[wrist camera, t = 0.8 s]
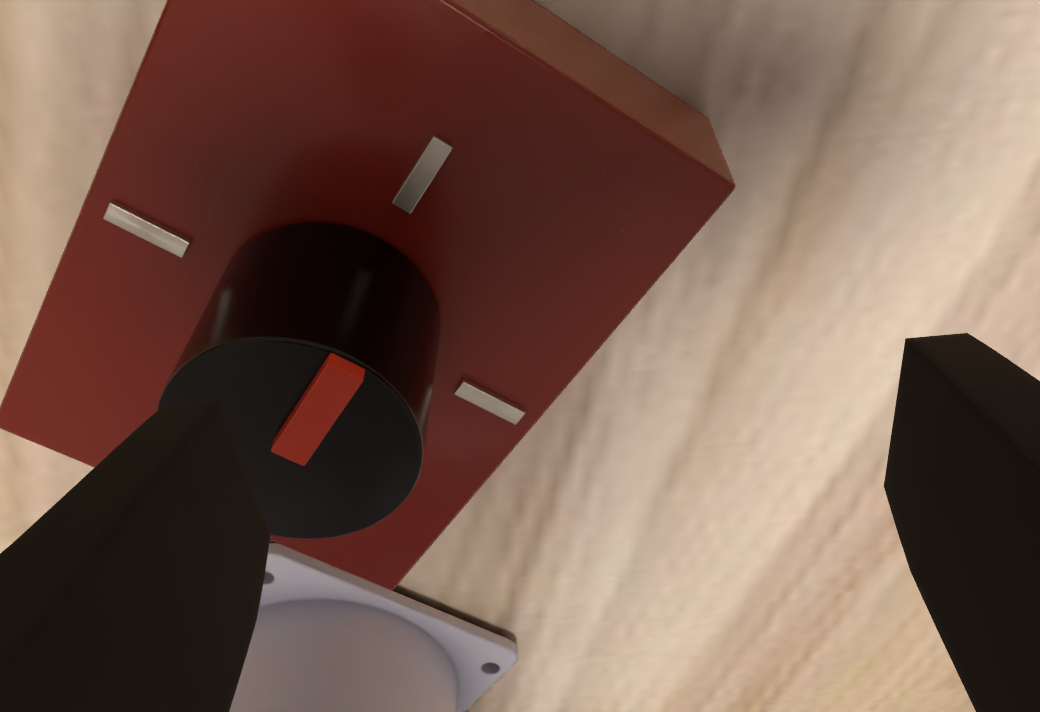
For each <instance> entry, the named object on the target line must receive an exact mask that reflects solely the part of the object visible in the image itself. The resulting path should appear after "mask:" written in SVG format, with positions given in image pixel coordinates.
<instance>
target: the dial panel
mask: <svg viewBox="0 0 1040 712" xmlns="http://www.w3.org/2000/svg"><path fill="white" fill-rule="evenodd" d="M735 186H736V185H735V183H734V180H733V178H732V175H731V173H730V170H729V168H728V166H727V163H726V161H725V158H724V156H723V153H722V151H721V148H720V146H719V143H718V141H717V139H716V136H715V134H714V131H713V129H712V126H711V124H710V121H709V119H708V118H707V117H706V116H704V115H703V114H701V113H700V112H698V111H697V110H695V109H694V108H692V107H691V106H689V105H688V104H686V103H685V102H683V101H682V100H680V99H679V98H677V97H676V96H674V95H673V94H671V93H670V92H668V91H667V90H665V89H664V88H663V87H661V86H660V85H658V84H657V83H655V82H654V81H652V80H651V79H649V78H648V77H646V76H645V75H643V74H642V73H640V72H639V71H637V70H636V69H634V68H633V67H631V66H630V65H628V64H627V63H625V62H624V61H622V60H621V59H619V58H618V57H616V56H615V55H613V54H612V53H610V52H609V51H607V50H606V49H604V48H603V47H601V46H600V45H598V44H597V43H595V42H594V41H592V40H591V39H589V38H588V37H586V36H585V35H583V34H582V33H580V32H579V31H577V30H576V29H575V28H573V27H572V26H570V25H569V24H567V23H566V22H564V21H563V20H561V19H560V18H558V17H557V16H555V15H554V14H552V13H551V12H549V11H548V10H546V9H545V8H543V7H542V6H540V5H539V4H537V3H536V2H534V1H533V0H167V1H166V4H165V6H164V9H163V11H162V13H161V16H160V18H159V21H158V23H157V26H156V28H155V30H154V33H153V35H152V38H151V40H150V43H149V45H148V48H147V50H146V52H145V55H144V57H143V60H142V62H141V65H140V67H139V69H138V72H137V74H136V77H135V79H134V82H133V84H132V87H131V89H130V91H129V94H128V96H127V99H126V101H125V104H124V106H123V108H122V111H121V113H120V116H119V118H118V121H117V123H116V125H115V128H114V130H113V133H112V135H111V138H110V140H109V143H108V145H107V147H106V150H105V152H104V155H103V157H102V160H101V162H100V164H99V167H98V169H97V172H96V174H95V177H94V179H93V181H92V184H91V186H90V189H89V191H88V194H87V196H86V199H85V201H84V203H83V206H82V208H81V211H80V213H79V216H78V218H77V220H76V223H75V225H74V228H73V230H72V233H71V235H70V238H69V240H68V242H67V245H66V247H65V250H64V252H63V255H62V257H61V259H60V262H59V264H58V267H57V269H56V272H55V274H54V276H53V279H52V281H51V284H50V286H49V289H48V291H47V294H46V296H45V298H44V301H43V303H42V306H41V308H40V311H39V313H38V315H37V318H36V320H35V323H34V325H33V328H32V330H31V332H30V335H29V337H28V340H27V342H26V345H25V347H24V350H23V352H22V354H21V357H20V359H19V362H18V364H17V367H16V369H15V371H14V374H13V376H12V379H11V381H10V384H9V386H8V388H7V391H6V393H5V396H4V398H3V401H2V403H1V406H0V428H1V429H3V430H6V431H8V432H10V433H13V434H15V435H18V436H20V437H23V438H25V439H27V440H30V441H32V442H35V443H37V444H39V445H42V446H44V447H47V448H49V449H51V450H54V451H56V452H59V453H61V454H64V455H66V456H68V457H71V458H73V459H76V460H78V461H80V462H83V463H85V464H88V465H90V466H92V467H96V466H97V465H98V464H99V463H100V462H101V461H102V460H103V459H104V458H106V457H107V456H108V455H109V454H110V453H111V452H112V451H113V450H114V449H115V448H116V447H117V446H118V445H120V444H121V443H122V442H123V441H124V440H125V439H126V438H127V437H128V436H129V435H130V434H132V433H133V432H134V431H135V430H136V429H137V428H138V427H139V426H140V425H142V424H143V423H144V422H145V421H146V420H147V419H148V418H150V417H151V416H152V415H153V414H155V413H156V411H157V406H158V402H159V399H160V396H161V394H162V392H163V389H164V387H165V385H166V383H167V381H168V379H169V377H170V375H171V373H172V372H173V370H174V368H175V366H176V364H177V362H178V360H179V358H180V356H181V354H182V352H183V350H184V348H185V346H186V344H187V342H188V340H189V339H190V337H191V335H192V333H193V331H194V329H195V327H196V325H197V323H198V321H199V319H200V317H201V315H202V313H203V311H204V309H205V307H206V306H207V304H208V302H209V300H210V298H211V296H212V294H213V292H214V290H215V288H216V286H217V284H218V282H219V280H220V278H221V276H222V274H223V273H224V271H225V269H226V267H227V266H228V264H229V263H230V261H231V259H232V258H233V257H234V256H235V255H236V254H237V253H238V251H239V250H240V249H241V248H243V247H244V246H245V245H246V244H248V243H249V242H250V241H251V240H253V239H255V238H257V237H258V236H260V235H262V234H264V233H266V232H269V231H271V230H273V229H276V228H279V227H283V226H287V225H291V224H297V223H305V222H325V223H334V224H340V225H345V226H349V227H353V228H356V229H359V230H362V231H365V232H368V233H370V234H372V235H374V236H376V237H378V238H381V239H382V240H384V241H386V242H387V243H389V244H390V245H392V246H394V247H395V248H396V249H397V250H399V251H400V252H401V253H403V254H404V255H405V256H406V257H407V258H408V259H409V260H410V261H411V262H412V263H413V264H414V265H415V266H416V267H417V268H418V270H419V271H420V272H421V274H422V275H423V276H424V278H425V279H426V281H427V283H428V284H429V286H430V288H431V290H432V292H433V294H434V297H435V299H436V302H437V306H438V310H439V314H440V326H441V327H440V339H439V347H438V354H437V361H436V369H435V376H434V383H433V391H432V398H431V405H430V413H429V420H428V427H427V435H426V442H425V449H424V457H423V464H422V468H421V472H420V476H419V478H418V480H417V482H416V485H415V487H414V488H413V490H412V491H411V493H410V494H409V496H408V497H407V499H406V500H405V501H404V502H403V503H402V504H401V505H400V506H399V507H398V508H397V509H396V510H395V511H394V512H392V513H391V514H390V515H389V516H387V517H386V518H384V519H383V520H381V521H379V522H378V523H376V524H374V525H372V526H370V527H367V528H365V529H363V530H360V531H357V532H354V533H350V534H347V535H342V536H337V537H331V538H321V539H297V538H285V537H280V536H274V535H271V536H270V540H271V541H273V542H276V543H278V544H281V545H283V546H285V547H288V548H290V549H293V550H295V551H297V552H300V553H302V554H305V555H307V556H310V557H312V558H314V559H317V560H319V561H322V562H324V563H326V564H329V565H331V566H334V567H336V568H339V569H341V570H343V571H346V572H348V573H351V574H353V575H355V576H358V577H360V578H363V579H365V580H367V581H370V582H372V583H375V584H377V585H380V586H382V587H384V588H387V589H389V590H393V589H394V588H395V587H396V586H397V585H398V584H399V582H400V581H401V580H402V579H403V578H404V576H405V575H406V574H407V573H408V572H409V571H410V569H411V568H412V567H413V566H414V565H415V564H416V562H417V561H418V560H419V559H420V558H421V557H422V555H423V554H424V553H425V552H426V551H427V549H428V548H429V547H430V546H431V545H432V544H433V542H434V541H435V540H436V539H437V538H438V537H439V535H440V534H441V533H442V532H443V531H444V530H445V528H446V527H447V526H448V525H449V524H450V523H451V521H452V520H453V519H454V518H455V517H456V515H457V514H458V513H459V512H460V511H461V510H462V508H463V507H464V506H465V505H466V504H467V503H468V501H469V500H470V499H471V498H472V497H473V496H474V494H475V493H476V492H477V491H478V490H479V488H480V487H481V486H482V485H483V484H484V483H485V481H486V480H487V479H488V478H489V477H490V476H491V474H492V473H493V472H494V471H495V470H496V469H497V467H498V466H499V465H500V464H501V463H502V462H503V460H504V459H505V458H506V457H507V456H508V454H509V453H510V452H511V451H512V450H513V449H514V447H515V446H516V445H517V444H518V443H519V442H520V440H521V439H522V438H523V437H524V436H525V435H526V433H527V432H528V431H529V430H530V429H531V427H532V426H533V425H534V424H535V423H536V422H537V420H538V419H539V418H540V417H541V416H542V415H543V413H544V412H545V411H546V410H547V409H548V408H549V406H550V405H551V404H552V403H553V402H554V400H555V399H556V398H557V397H558V396H559V395H560V393H561V392H562V391H563V390H564V389H565V388H566V386H567V385H568V384H569V383H570V382H571V381H572V379H573V378H574V377H575V376H576V375H577V374H578V372H579V371H580V370H581V369H582V368H583V366H584V365H585V364H586V363H587V362H588V361H589V359H590V358H591V357H592V356H593V355H594V354H595V352H596V351H597V350H598V349H599V348H600V347H601V345H602V344H603V343H604V342H605V341H606V339H607V338H608V337H609V336H610V335H611V334H612V332H613V331H614V330H615V329H616V328H617V327H618V325H619V324H620V323H621V322H622V321H623V320H624V318H625V317H626V316H627V315H628V314H629V313H630V311H631V310H632V309H633V308H634V307H635V305H636V304H637V303H638V302H639V301H640V300H641V298H642V297H643V296H644V295H645V294H646V293H647V291H648V290H649V289H650V288H651V287H652V286H653V284H654V283H655V282H656V281H657V280H658V278H659V277H660V276H661V275H662V274H663V273H664V271H665V270H666V269H667V268H668V267H669V266H670V264H671V263H672V262H673V261H674V260H675V259H676V257H677V256H678V255H679V254H680V253H681V251H682V250H683V249H684V248H685V247H686V246H687V244H688V243H689V242H690V241H691V240H692V239H693V237H694V236H695V235H696V234H697V233H698V232H699V230H700V229H701V228H702V227H703V226H704V225H705V223H706V222H707V221H708V220H709V219H710V217H711V216H712V215H713V214H714V213H715V212H716V210H717V209H718V208H719V207H720V206H721V205H722V203H723V202H724V201H725V200H726V199H727V198H728V196H729V195H730V194H731V193H732V192H733V190H734V189H735Z"/></svg>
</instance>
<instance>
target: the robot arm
mask: <svg viewBox="0 0 1040 712" xmlns="http://www.w3.org/2000/svg"><path fill="white" fill-rule="evenodd" d="M884 488H885V491H886V495H887V498H888V501H889V505H890V508H891V511H892V515H893V518H894V521H895V525H896V528H897V531H898V534H899V537H900V540H901V543H902V547H903V550H904V553H905V556H906V559H907V562H908V565H909V568H910V571H911V573H912V575H913V578H914V580H915V582H916V584H917V587H918V589H919V591H920V593H921V595H922V598H923V600H924V602H925V604H926V606H927V608H928V610H929V613H930V615H931V617H932V619H933V621H934V623H935V626H936V628H937V630H938V632H939V634H940V636H941V639H942V641H943V643H944V645H945V647H946V649H947V651H948V653H949V655H950V658H951V660H952V662H953V664H954V666H955V668H956V670H957V672H958V674H959V677H960V679H961V681H962V683H963V685H964V687H965V689H966V691H967V694H968V696H969V698H970V700H971V702H972V704H973V706H974V708H975V710H976V712H1040V381H1039V380H1037V379H1036V378H1034V377H1033V376H1031V375H1030V374H1028V373H1027V372H1026V371H1024V370H1023V369H1021V368H1020V367H1018V366H1017V365H1015V364H1014V363H1012V362H1011V361H1010V360H1008V359H1007V358H1005V357H1004V356H1002V355H1001V354H999V353H998V352H996V351H995V350H993V349H992V348H990V347H989V346H987V345H986V344H984V343H982V342H981V341H979V340H978V339H976V338H974V337H973V336H971V335H970V334H968V333H963V334H952V335H940V336H929V337H918V338H907V339H905V346H904V353H903V360H902V366H901V373H900V380H899V387H898V394H897V400H896V407H895V414H894V421H893V428H892V435H891V441H890V448H889V455H888V462H887V469H886V475H885V482H884ZM270 536H271V534H270V531H269V529H268V526H267V524H266V521H265V518H264V516H263V513H262V510H261V508H260V505H259V503H258V500H257V497H256V495H255V492H254V489H253V487H252V484H251V482H250V479H249V476H248V474H247V471H246V469H245V466H244V463H243V461H242V458H241V455H240V453H239V450H238V448H237V445H236V442H235V440H234V437H233V434H232V432H231V429H230V427H229V424H228V421H227V419H226V416H225V413H224V411H223V408H222V406H221V403H220V400H215V401H204V402H193V403H182V404H171V405H164V406H163V407H162V408H161V409H159V410H158V411H157V412H156V413H155V414H153V415H152V416H151V417H150V418H148V419H147V420H146V421H145V422H144V423H143V424H142V425H140V426H139V427H138V428H137V429H136V430H135V431H134V432H133V433H132V434H130V435H129V436H128V437H127V438H126V439H125V440H124V441H123V442H122V443H121V444H120V445H118V446H117V447H116V448H115V449H114V450H113V451H112V452H111V453H110V454H109V455H108V456H107V457H106V458H104V459H103V460H102V461H101V462H100V463H99V464H98V465H97V466H96V467H95V468H94V469H93V470H92V471H91V472H89V473H88V474H87V475H86V476H85V477H84V478H83V479H82V480H81V481H80V482H79V483H78V484H77V485H76V486H74V487H73V488H72V489H71V490H70V491H69V492H68V493H67V494H66V495H65V496H64V497H63V498H61V499H60V500H59V501H58V502H57V503H56V504H55V505H54V506H53V507H52V508H51V509H49V510H48V511H47V512H46V513H45V514H44V515H43V516H42V517H41V518H40V519H39V520H38V521H36V522H35V523H34V524H33V525H32V526H31V527H30V528H29V529H28V530H27V531H26V532H24V533H23V534H22V535H21V536H20V537H19V538H18V539H17V540H16V541H15V542H13V543H12V544H11V545H10V546H9V547H8V548H6V549H5V550H4V551H3V552H2V553H1V554H0V712H465V711H466V710H467V709H468V708H469V707H470V706H471V705H473V704H474V703H475V702H476V701H477V700H478V699H479V698H480V697H481V696H482V695H483V694H484V693H485V692H486V691H487V690H488V689H489V688H490V687H491V686H492V685H493V684H494V683H495V682H496V681H497V680H499V679H500V678H501V677H502V676H503V675H504V674H505V673H506V672H507V671H508V670H509V669H510V668H511V667H512V666H513V665H514V664H515V663H516V661H517V646H516V644H515V643H514V642H513V641H511V640H509V639H507V638H505V637H502V636H500V635H498V634H495V633H493V632H490V631H488V630H485V629H483V628H481V627H478V626H476V625H473V624H471V623H469V622H466V621H464V620H461V619H459V618H457V617H454V616H452V615H449V614H447V613H444V612H442V611H440V610H437V609H435V608H432V607H430V606H428V605H425V604H423V603H420V602H418V601H416V600H413V599H411V598H408V597H406V596H403V595H401V594H399V593H396V592H394V591H391V590H389V589H387V588H384V587H382V586H379V585H377V584H375V583H372V582H370V581H367V580H365V579H362V578H360V577H358V576H355V575H353V574H350V573H348V572H346V571H343V570H341V569H338V568H336V567H333V566H331V565H329V564H326V563H324V562H321V561H319V560H317V559H314V558H312V557H309V556H307V555H305V554H302V553H300V552H297V551H295V550H292V549H290V548H288V547H285V546H283V545H279V544H276V543H273V544H269V542H270ZM265 571H267V572H269V573H267V572H265Z"/></svg>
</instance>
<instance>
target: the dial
mask: <svg viewBox="0 0 1040 712" xmlns="http://www.w3.org/2000/svg"><path fill="white" fill-rule="evenodd" d="M440 327H441V326H440V314H439V310H438V306H437V302H436V299H435V297H434V294H433V292H432V290H431V288H430V286H429V284H428V283H427V281H426V279H425V278H424V276H423V275H422V274H421V272H420V271H419V270H418V268H417V267H416V266H415V265H414V264H413V263H412V262H411V261H410V260H409V259H408V258H407V257H406V256H405V255H404V254H403V253H401V252H400V251H399V250H397V249H396V248H395V247H394V246H392V245H390V244H389V243H387V242H386V241H384V240H382V239H381V238H378V237H376V236H374V235H372V234H370V233H368V232H365V231H362V230H359V229H356V228H353V227H349V226H345V225H340V224H334V223H325V222H305V223H297V224H291V225H287V226H283V227H279V228H276V229H273V230H271V231H269V232H266V233H264V234H262V235H260V236H258V237H257V238H255V239H253V240H251V241H250V242H249V243H248V244H246V245H245V246H244V247H243V248H241V249H240V250H239V251H238V253H237V254H236V255H235V256H234V257H233V258H232V259H231V261H230V263H229V264H228V266H227V267H226V269H225V271H224V273H223V274H222V276H221V278H220V280H219V282H218V284H217V286H216V288H215V290H214V292H213V294H212V296H211V298H210V300H209V302H208V304H207V306H206V307H205V309H204V311H203V313H202V315H201V317H200V319H199V321H198V323H197V325H196V327H195V329H194V331H193V333H192V335H191V337H190V339H189V340H188V342H187V344H186V346H185V348H184V350H183V352H182V354H181V356H180V358H179V360H178V362H177V364H176V366H175V368H174V370H173V372H172V373H171V375H170V377H169V379H168V381H167V383H166V385H165V387H164V389H163V392H162V394H161V396H160V399H159V402H158V406H157V411H158V410H159V409H161V408H162V407H163V406H164V405H171V404H182V403H193V402H204V401H215V400H220V403H221V406H222V408H223V411H224V413H225V416H226V419H227V421H228V424H229V427H230V429H231V432H232V434H233V437H234V440H235V442H236V445H237V448H238V450H239V453H240V455H241V458H242V461H243V463H244V466H245V469H246V471H247V474H248V476H249V479H250V482H251V484H252V487H253V489H254V492H255V495H256V497H257V500H258V503H259V505H260V508H261V510H262V513H263V516H264V518H265V521H266V524H267V526H268V529H269V531H270V534H271V535H274V536H280V537H285V538H297V539H321V538H331V537H337V536H342V535H347V534H350V533H354V532H357V531H360V530H363V529H365V528H367V527H370V526H372V525H374V524H376V523H378V522H379V521H381V520H383V519H384V518H386V517H387V516H389V515H390V514H391V513H392V512H394V511H395V510H396V509H397V508H398V507H399V506H400V505H401V504H402V503H403V502H404V501H405V500H406V499H407V497H408V496H409V494H410V493H411V491H412V490H413V488H414V487H415V485H416V482H417V480H418V478H419V476H420V472H421V468H422V464H423V457H424V449H425V442H426V435H427V427H428V420H429V413H430V405H431V398H432V391H433V383H434V376H435V369H436V361H437V354H438V347H439V339H440ZM157 411H156V412H157Z"/></svg>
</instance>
